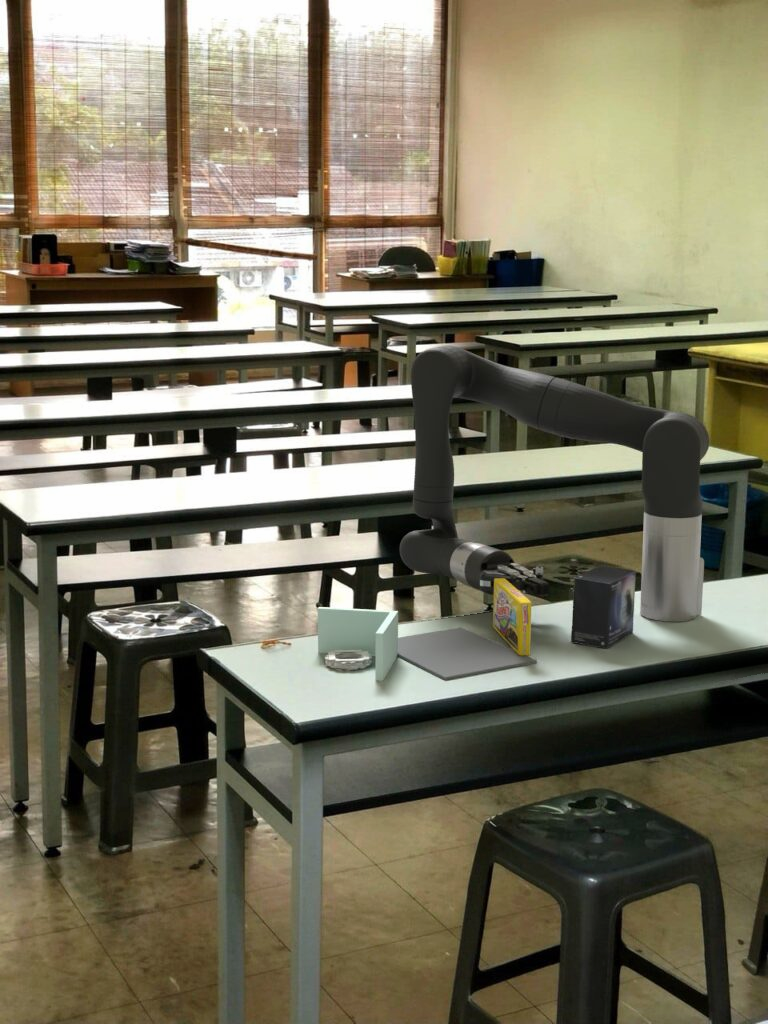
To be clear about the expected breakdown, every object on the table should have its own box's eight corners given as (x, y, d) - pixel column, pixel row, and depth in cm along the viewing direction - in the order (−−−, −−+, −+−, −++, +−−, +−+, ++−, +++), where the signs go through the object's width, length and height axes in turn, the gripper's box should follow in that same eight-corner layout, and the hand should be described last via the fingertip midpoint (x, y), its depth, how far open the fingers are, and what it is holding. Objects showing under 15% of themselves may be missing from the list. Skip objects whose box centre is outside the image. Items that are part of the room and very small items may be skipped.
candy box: (490, 628, 211) (493, 577, 210) (503, 628, 212) (506, 577, 210) (516, 656, 196) (520, 601, 194) (530, 656, 196) (534, 601, 195)
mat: (461, 629, 211) (461, 627, 211) (536, 662, 194) (536, 660, 194) (374, 644, 203) (374, 641, 203) (445, 680, 186) (445, 677, 186)
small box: (608, 650, 200) (611, 582, 198) (569, 643, 204) (571, 577, 202) (635, 633, 209) (638, 568, 207) (597, 627, 213) (599, 563, 211)
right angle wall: (319, 655, 200) (319, 606, 198) (397, 659, 198) (398, 611, 196) (299, 679, 188) (299, 628, 187) (382, 685, 186) (382, 633, 185)
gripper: (449, 550, 218) (510, 571, 204) (514, 541, 225) (578, 561, 210) (448, 594, 220) (509, 618, 205) (513, 584, 226) (577, 607, 212)
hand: (544, 589), depth 208 cm, fingers closed
